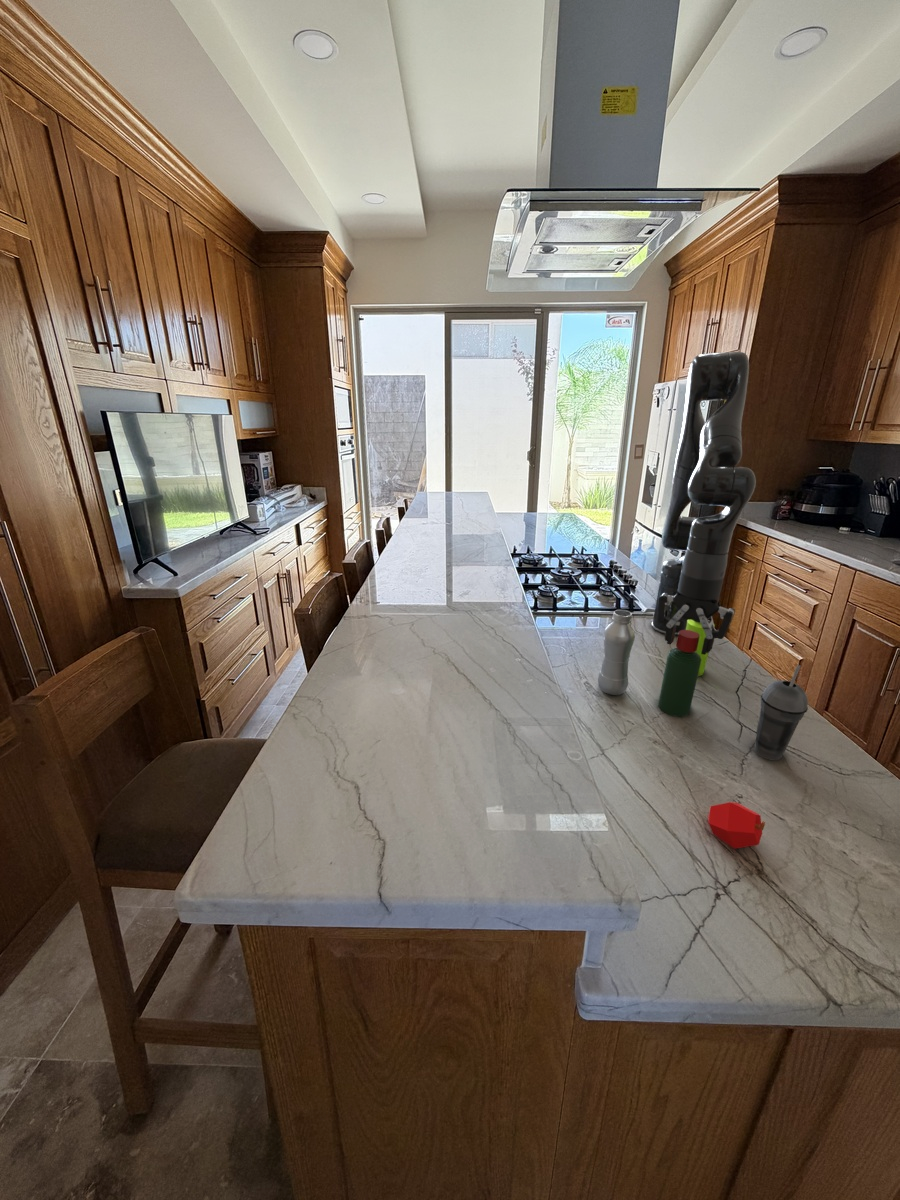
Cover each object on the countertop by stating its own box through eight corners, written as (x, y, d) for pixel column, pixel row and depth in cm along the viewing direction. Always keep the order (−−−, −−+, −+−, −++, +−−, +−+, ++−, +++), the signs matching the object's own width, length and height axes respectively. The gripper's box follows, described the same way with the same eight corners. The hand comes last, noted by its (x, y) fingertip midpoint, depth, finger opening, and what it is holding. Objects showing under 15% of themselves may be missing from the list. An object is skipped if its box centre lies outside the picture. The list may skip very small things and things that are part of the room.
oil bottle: (663, 695, 111) (676, 627, 104) (693, 706, 107) (709, 636, 100) (654, 709, 106) (667, 638, 99) (684, 720, 103) (701, 647, 96)
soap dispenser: (681, 676, 118) (697, 601, 110) (676, 662, 124) (690, 590, 117) (707, 679, 117) (725, 604, 109) (700, 665, 123) (717, 592, 115)
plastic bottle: (628, 700, 109) (641, 620, 101) (597, 696, 111) (608, 618, 103) (624, 684, 115) (637, 608, 107) (595, 681, 116) (605, 605, 109)
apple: (697, 804, 75) (757, 816, 69) (711, 788, 79) (768, 797, 74) (703, 848, 75) (763, 863, 69) (717, 829, 79) (774, 842, 74)
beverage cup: (782, 743, 96) (812, 654, 88) (796, 768, 89) (829, 675, 81) (741, 737, 97) (766, 649, 90) (752, 761, 91) (780, 669, 83)
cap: (700, 649, 100) (703, 635, 99) (689, 654, 98) (692, 640, 97) (683, 641, 103) (686, 628, 102) (672, 646, 101) (674, 632, 100)
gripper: (748, 574, 92) (729, 652, 99) (670, 559, 101) (657, 631, 107) (739, 585, 87) (720, 666, 93) (658, 569, 95) (645, 644, 102)
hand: (686, 647), depth 100 cm, fingers open, 6 cm apart
